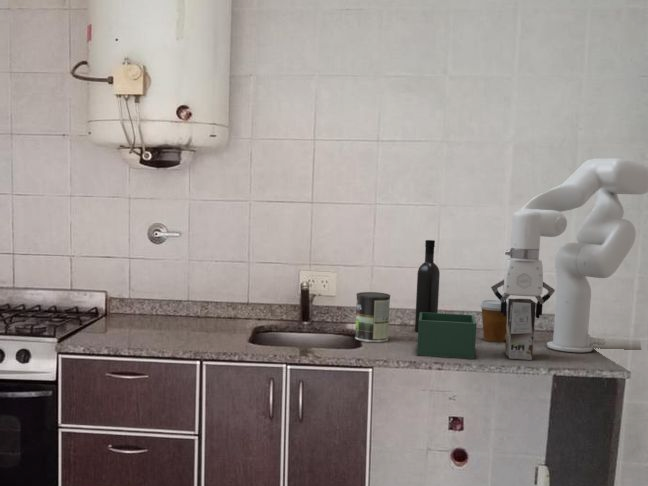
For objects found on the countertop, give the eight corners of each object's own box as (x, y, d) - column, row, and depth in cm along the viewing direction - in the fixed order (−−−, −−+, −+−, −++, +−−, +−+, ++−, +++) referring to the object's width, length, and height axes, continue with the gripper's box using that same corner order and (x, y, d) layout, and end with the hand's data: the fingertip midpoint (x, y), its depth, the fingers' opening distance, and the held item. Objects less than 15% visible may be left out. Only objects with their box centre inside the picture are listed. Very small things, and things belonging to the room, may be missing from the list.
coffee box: (532, 360, 226) (536, 302, 224) (508, 359, 227) (512, 301, 225) (527, 353, 235) (531, 298, 233) (504, 352, 236) (507, 297, 234)
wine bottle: (413, 331, 268) (417, 240, 265) (423, 329, 272) (427, 239, 268) (428, 333, 264) (432, 241, 260) (438, 331, 268) (442, 240, 264)
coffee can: (355, 341, 248) (357, 296, 246) (354, 335, 258) (355, 291, 257) (390, 343, 247) (392, 297, 245) (387, 336, 257) (388, 292, 256)
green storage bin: (472, 348, 241) (474, 315, 240) (474, 359, 226) (476, 323, 225) (418, 344, 245) (419, 312, 244) (417, 355, 230) (418, 320, 229)
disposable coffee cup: (476, 341, 253) (478, 302, 251) (480, 336, 262) (482, 299, 260) (508, 344, 249) (510, 305, 247) (512, 338, 257) (514, 301, 256)
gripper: (492, 254, 226) (489, 316, 228) (559, 257, 222) (555, 320, 224) (491, 252, 233) (487, 312, 235) (556, 255, 229) (551, 316, 231)
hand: (520, 316), depth 229 cm, fingers open, 8 cm apart
